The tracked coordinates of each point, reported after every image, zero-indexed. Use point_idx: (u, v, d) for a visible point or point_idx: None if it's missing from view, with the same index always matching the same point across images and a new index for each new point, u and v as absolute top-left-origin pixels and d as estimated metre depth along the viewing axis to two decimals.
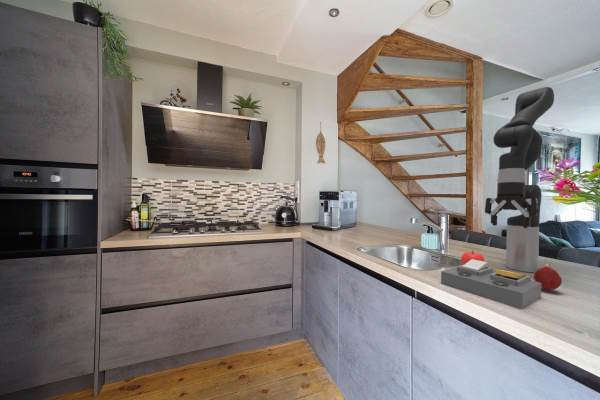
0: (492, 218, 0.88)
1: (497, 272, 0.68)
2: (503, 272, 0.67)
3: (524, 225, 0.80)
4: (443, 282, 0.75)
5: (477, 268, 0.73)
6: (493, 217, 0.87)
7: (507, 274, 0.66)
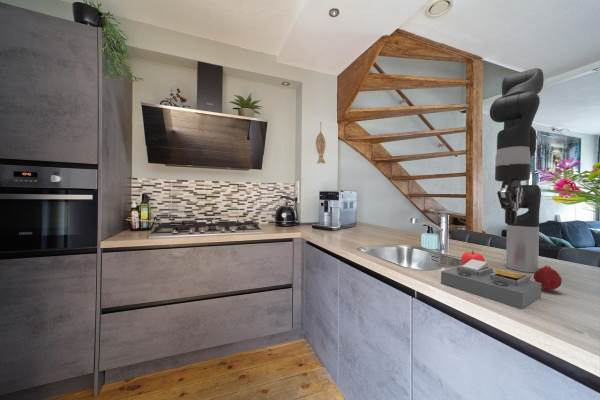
0: (513, 215, 0.67)
1: (497, 272, 0.68)
2: (503, 272, 0.67)
3: (516, 221, 0.67)
4: (443, 282, 0.75)
5: (477, 268, 0.73)
6: (514, 213, 0.67)
7: (507, 274, 0.66)
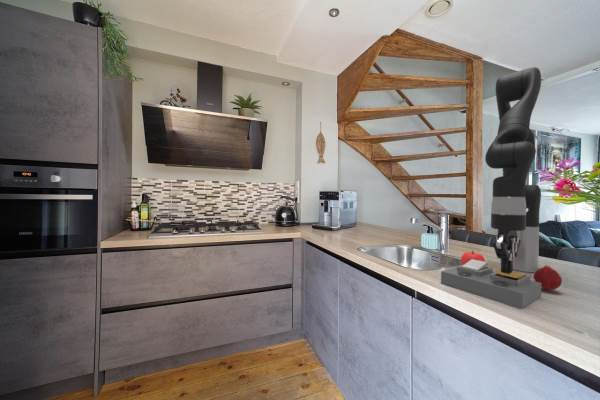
0: (509, 265, 0.66)
1: (497, 272, 0.68)
2: None
3: (512, 270, 0.66)
4: (443, 282, 0.75)
5: (477, 268, 0.73)
6: (510, 263, 0.66)
7: (507, 274, 0.66)
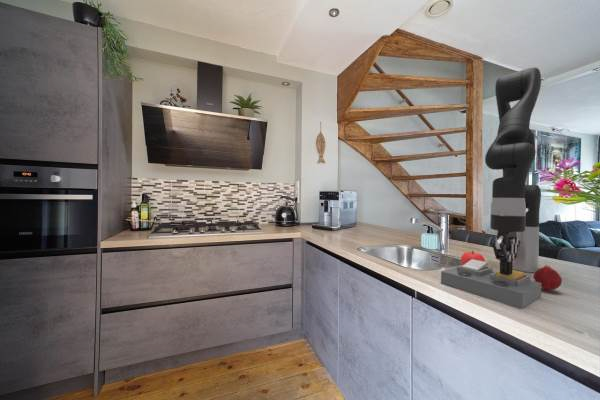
0: (508, 266, 0.66)
1: (497, 274, 0.68)
2: None
3: (511, 271, 0.66)
4: (443, 282, 0.75)
5: (477, 268, 0.73)
6: (509, 265, 0.66)
7: (507, 276, 0.66)
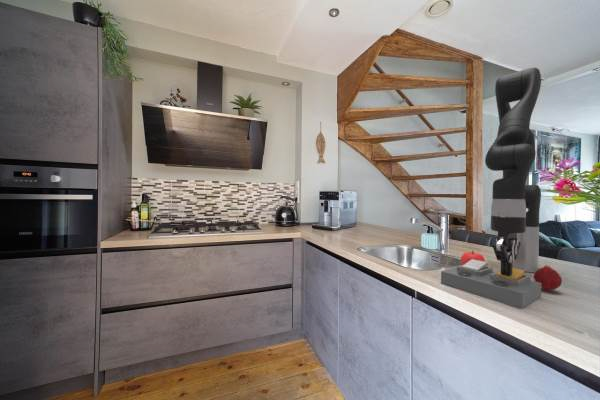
0: (509, 267, 0.66)
1: None
2: (503, 276, 0.67)
3: (511, 272, 0.66)
4: (443, 282, 0.75)
5: (477, 268, 0.73)
6: (510, 265, 0.66)
7: None
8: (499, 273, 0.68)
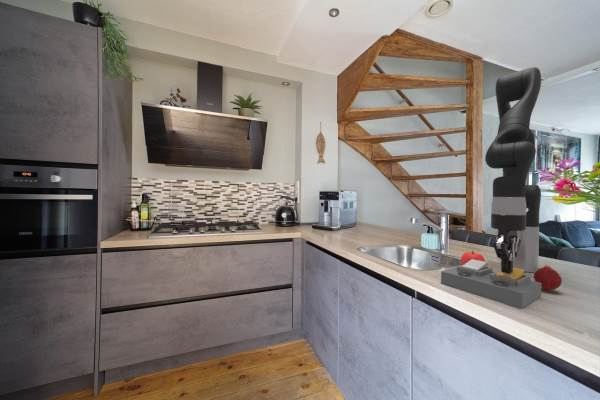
0: (509, 264, 0.66)
1: None
2: None
3: (512, 270, 0.66)
4: (443, 282, 0.75)
5: (477, 268, 0.73)
6: (510, 263, 0.66)
7: None
8: (499, 274, 0.68)
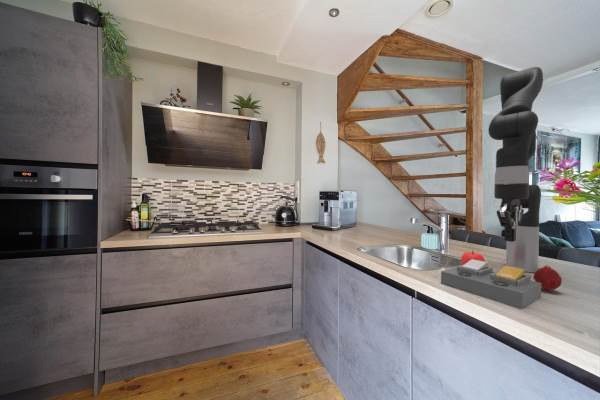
0: (512, 233, 0.68)
1: None
2: None
3: (515, 238, 0.68)
4: (443, 282, 0.75)
5: (477, 268, 0.73)
6: (513, 231, 0.68)
7: None
8: (499, 274, 0.68)
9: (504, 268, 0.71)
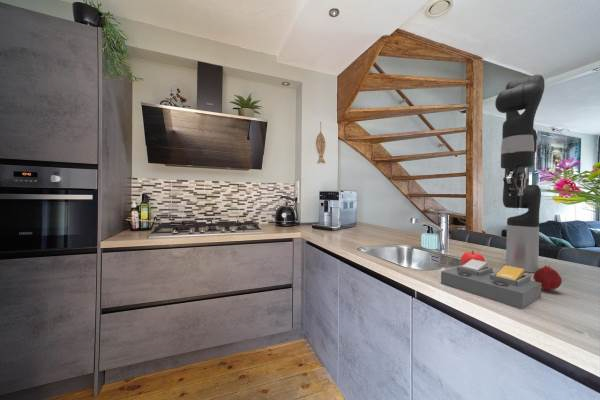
0: (518, 199, 0.71)
1: None
2: None
3: (520, 205, 0.72)
4: (443, 282, 0.75)
5: (477, 268, 0.73)
6: (519, 198, 0.71)
7: None
8: (499, 274, 0.68)
9: (504, 268, 0.71)
